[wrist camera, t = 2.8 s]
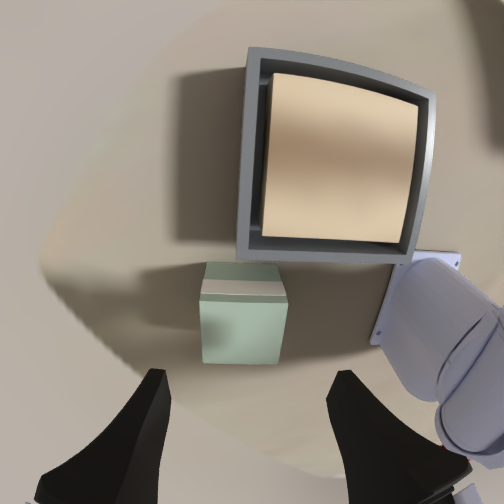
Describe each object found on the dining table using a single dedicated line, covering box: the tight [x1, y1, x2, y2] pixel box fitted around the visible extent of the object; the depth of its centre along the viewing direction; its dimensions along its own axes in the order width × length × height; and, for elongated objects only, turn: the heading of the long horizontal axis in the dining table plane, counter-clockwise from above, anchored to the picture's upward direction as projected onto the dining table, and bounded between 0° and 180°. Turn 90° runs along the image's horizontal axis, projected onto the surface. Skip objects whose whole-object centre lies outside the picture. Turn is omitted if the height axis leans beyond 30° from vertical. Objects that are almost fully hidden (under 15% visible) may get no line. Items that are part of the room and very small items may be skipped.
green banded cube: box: [199, 262, 288, 364], centre depth 18 cm, size 5×5×5 cm
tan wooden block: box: [258, 73, 418, 243], centre depth 14 cm, size 8×8×3 cm
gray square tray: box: [236, 47, 436, 264], centre depth 15 cm, size 11×11×4 cm
